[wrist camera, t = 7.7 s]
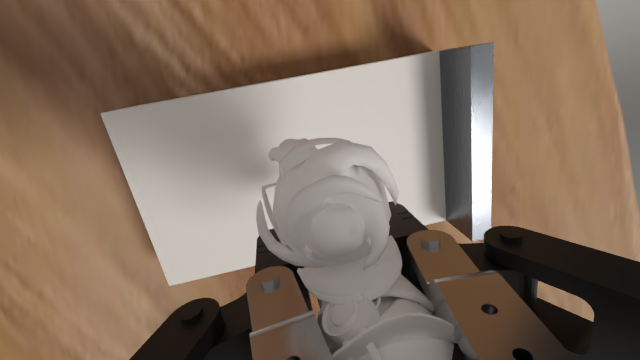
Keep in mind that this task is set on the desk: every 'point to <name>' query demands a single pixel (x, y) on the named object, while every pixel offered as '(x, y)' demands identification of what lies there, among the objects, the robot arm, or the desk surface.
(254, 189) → the shelf board
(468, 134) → the rail
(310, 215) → the white toy figure
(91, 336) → the desk surface
